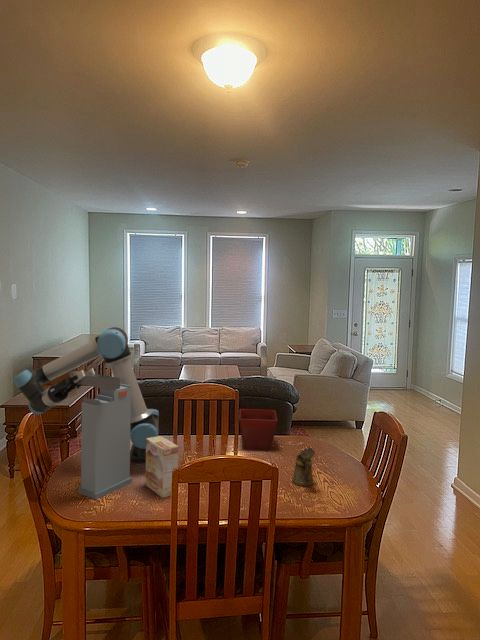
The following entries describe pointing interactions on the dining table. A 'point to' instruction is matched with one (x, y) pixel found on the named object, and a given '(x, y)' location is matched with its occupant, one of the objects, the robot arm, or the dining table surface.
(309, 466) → the dark green figurine
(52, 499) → the dining table surface
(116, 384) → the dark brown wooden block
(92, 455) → the stand
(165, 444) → the coffeecake box
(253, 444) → the plant pot
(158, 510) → the dining table surface
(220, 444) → the dining table surface
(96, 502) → the dining table surface
